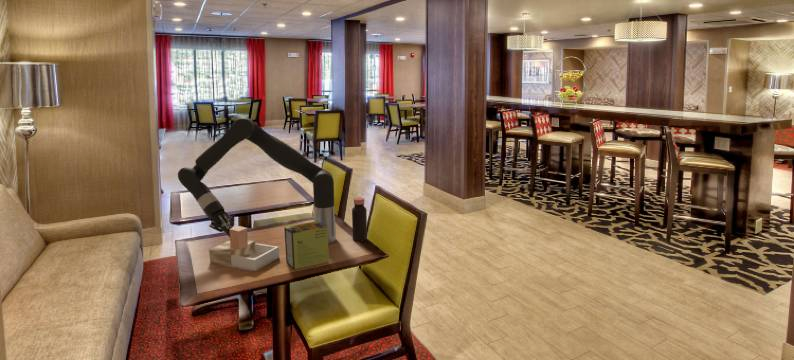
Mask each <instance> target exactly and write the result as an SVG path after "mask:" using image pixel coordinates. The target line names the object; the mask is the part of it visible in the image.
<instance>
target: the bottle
mask: <svg viewBox="0 0 794 360" xmlns="http://www.w3.org/2000/svg"><path fill="white" fill-rule="evenodd" d="M367 213H368V211H367V208H366V207H365V198H364V197H361V196H360V197H355V198H353V207H352V209H351V219H352V220H351V225H352V227H351V228H352V229H351V230H352V240H353V241H354V240H355V241H354V242H357V241H362V240H365V241H367V240H368V231H367V230H368V218H367V215H368V214H367ZM362 242H363V241H362Z"/></svg>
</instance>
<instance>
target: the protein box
mask: <svg viewBox="0 0 794 360" xmlns="http://www.w3.org/2000/svg"><path fill="white" fill-rule="evenodd" d="M283 228H284V241H285V242H284V243H285V245H284V246H285V260H286V261H285V262H286V263H287V264H288V265H290V267H292V269H294V270H298V269H303V268H307V267H312V266H316V265H321V264H325V263H329V261H330V257H329V256H330V255H329V253H330V252H329V244H328V227H327V226H325V225H324V224H322V223H320V222H319V221H315V220H314V221H310V222H305V223H304V222H303V223H299V224H294V225H288V226H284V227H283Z"/></svg>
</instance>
